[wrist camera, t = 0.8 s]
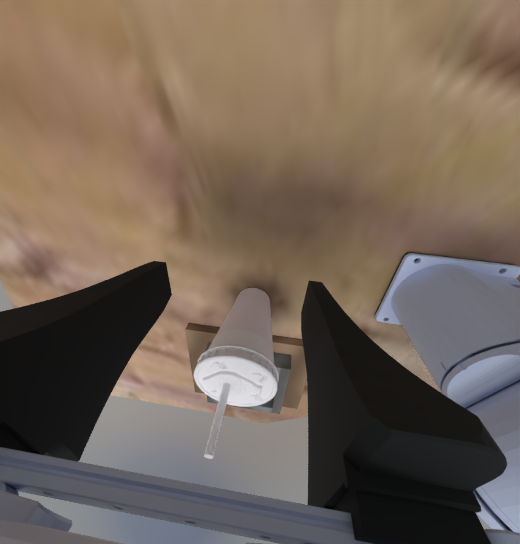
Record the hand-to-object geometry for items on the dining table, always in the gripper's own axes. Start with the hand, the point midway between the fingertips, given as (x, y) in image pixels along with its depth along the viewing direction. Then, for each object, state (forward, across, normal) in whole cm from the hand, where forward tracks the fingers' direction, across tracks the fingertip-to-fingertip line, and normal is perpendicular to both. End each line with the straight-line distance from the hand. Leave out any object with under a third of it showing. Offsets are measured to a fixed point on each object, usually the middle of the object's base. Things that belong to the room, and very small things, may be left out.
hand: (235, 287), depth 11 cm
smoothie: (+10, 0, +9) cm, 14 cm away
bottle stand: (+10, 0, +21) cm, 23 cm away
